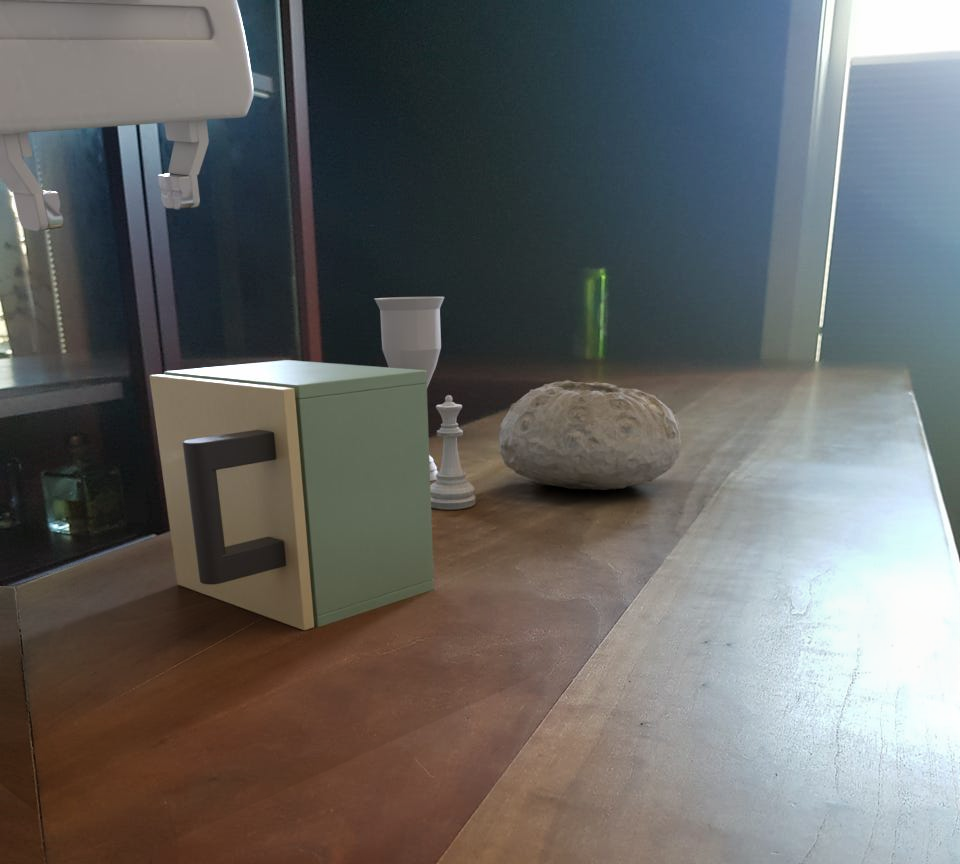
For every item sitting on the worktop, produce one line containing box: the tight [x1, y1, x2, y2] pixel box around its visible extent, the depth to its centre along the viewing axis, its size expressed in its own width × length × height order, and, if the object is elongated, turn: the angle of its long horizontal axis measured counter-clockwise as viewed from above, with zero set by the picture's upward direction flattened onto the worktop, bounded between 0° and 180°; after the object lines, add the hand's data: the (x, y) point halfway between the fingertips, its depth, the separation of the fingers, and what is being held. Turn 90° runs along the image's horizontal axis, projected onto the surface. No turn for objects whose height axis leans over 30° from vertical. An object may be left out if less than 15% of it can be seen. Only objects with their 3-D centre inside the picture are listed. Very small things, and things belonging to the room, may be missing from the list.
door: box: [149, 373, 315, 631], centre depth 60 cm, size 6×15×14 cm, turn 47°
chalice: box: [374, 296, 445, 482], centre depth 101 cm, size 7×7×18 cm
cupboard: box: [163, 359, 435, 628], centre depth 66 cm, size 10×15×15 cm
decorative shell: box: [498, 379, 682, 491], centre depth 96 cm, size 18×18×10 cm
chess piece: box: [430, 394, 476, 511], centre depth 90 cm, size 4×4×10 cm
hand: (116, 217), depth 55 cm, fingers open, 8 cm apart
